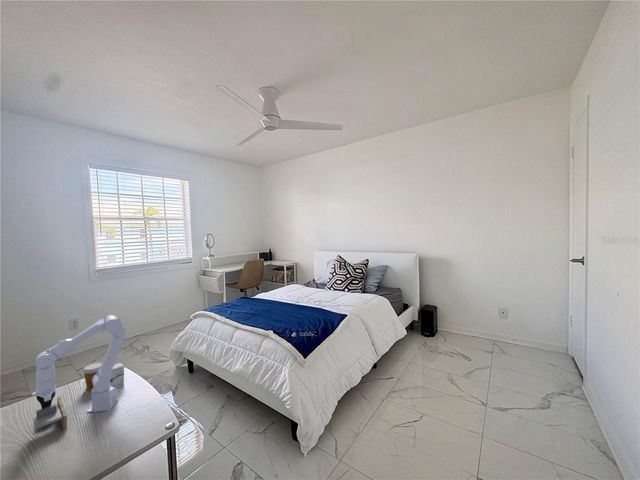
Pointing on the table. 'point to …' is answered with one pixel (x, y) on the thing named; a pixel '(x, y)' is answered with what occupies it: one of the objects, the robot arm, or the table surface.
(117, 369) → the ink box
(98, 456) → the table surface
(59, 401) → the walnut track wall
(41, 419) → the slate cover
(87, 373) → the disposable coffee cup
